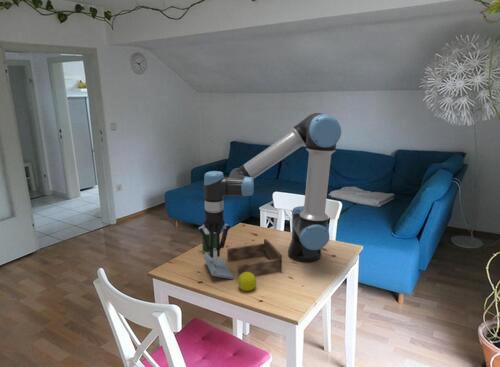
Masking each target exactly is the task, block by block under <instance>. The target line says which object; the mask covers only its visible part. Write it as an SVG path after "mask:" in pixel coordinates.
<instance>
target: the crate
mask: <svg viewBox="0 0 500 367" xmlns="http://www.w3.org/2000/svg"><path fill="white" fill-rule="evenodd" d="M226 252H227V253H226V256H227V262H234V261H239V260H246V259H253V258H260V257H264V256H265V257H266V259H267V260H261V261H256V262H255V261H254V262H250V263H243V264H238V265H237V279H238V278H239V276H240V274H242V273H244V272H250V273H253V274H254V276H255V277H258V276H259V277H260V276H265V275H270V274H276V273H281V274H282V272H283V270H282V265H283V263H282V261H283V260H282V258H283V255H282V254H281V253H280V251H278V249H277V248H276V247H275V246H274V245H273V244H272V243H271V242H270V241H269V240H268V239H267V238H264V239H263V243H258V244H251V245H243V246H237V247H232V248H231V247H230V248H226Z"/></svg>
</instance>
